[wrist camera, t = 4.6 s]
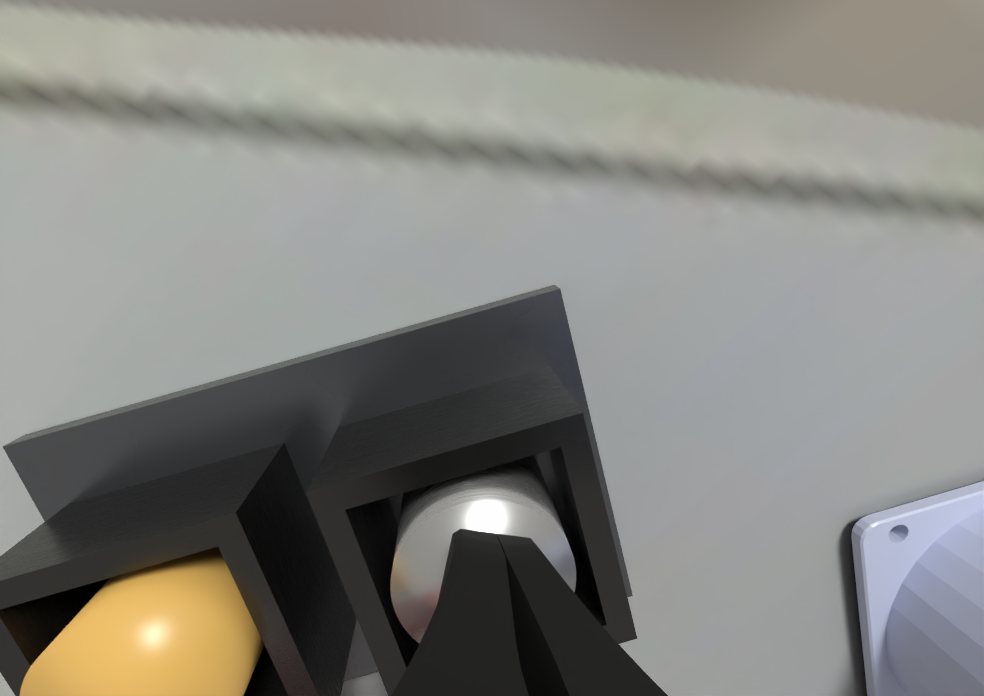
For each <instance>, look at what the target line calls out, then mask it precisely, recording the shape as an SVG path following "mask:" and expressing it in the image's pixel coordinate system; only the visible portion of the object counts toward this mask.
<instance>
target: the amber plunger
mask: <svg viewBox="0 0 984 696" xmlns="http://www.w3.org/2000/svg"><path fill="white" fill-rule="evenodd" d="M263 647H264V643H263V641H262V639H261V636H260V634H259V632H258V630H257V628H256V626H255V624H254V622H253V619H252V617H251V615H250V613H249V611H248V609H247V607H246V605H245V602H244V600H243V598H242V596H241V594H240V592H239V590H238V588H237V585H236V583H235V581H234V579H233V577H232V575H231V573H230V571H229V569H228V566H227V564H226V562H225V560H224V558H223V556H222V554H221V552H220V549H219V547H215V548H211V549H208V550H204V551H201V552H197V553H194V554H190V555H187V556H184V557H180V558H177V559H173V560H170V561H166V562H163V563H159V564H156V565H152V566H149V567H146V568H142V569H139V570H135V571H132V572H128V573H125V574H121V575H118V576H114V577H111V578H110V579H109V580H108V581H107V582H106V583H105V584H104V585H103V587H102V588H101V589H100V590H99V591H98V592H97V593H96V594H95V595H94V596H93V598H92V599H91V600H90V601H89V602H88V603H87V604H86V605H85V606H84V607H83V608H82V610H81V611H80V612H79V613H78V614H77V615H76V616H75V617H74V618H73V619H72V621H71V622H70V623H69V624H68V625H67V626H66V627H65V628H64V629H63V630H62V631H61V633H60V634H59V635H58V636H57V637H56V638H55V639H54V640H53V641H52V642H51V644H50V645H49V646H48V647H47V648H46V649H45V650H44V651H43V652H42V653H41V655H40V656H39V657H38V658H37V659H36V660H35V662H34V663H33V664H32V665H31V666H30V668H29V670H28V672H27V673H26V675H25V677H24V680H23V683H22V686H21V690H20V696H244V693H245V691H246V688H247V686H248V684H249V681H250V679H251V676H252V674H253V672H254V669H255V667H256V664H257V662H258V659H259V657H260V655H261V652H262V650H263Z"/></svg>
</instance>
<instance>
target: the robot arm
mask: <svg viewBox="0 0 984 696" xmlns="http://www.w3.org/2000/svg"><path fill="white" fill-rule="evenodd" d="M893 527H894V528H893ZM892 528H893V530H892ZM891 530H892V531H891ZM890 531H891V532H890ZM851 538H852V548H853V558H854V568H855V578H856V588H857V598H858V608H859V617H860V627H861V637H862V647H863V657H864V667H865V677H866V687H867V696H984V481H982V482H978V483H975V484H972V485H968V486H965V487H961V488H958V489H955V490H951V491H948V492H945V493H941V494H938V495H934V496H931V497H928V498H924V499H921V500H918V501H914V502H911V503H907V504H904V505H901V506H897V507H894V508H890V509H887V510H884V511H880V512H877V513H874V514H870V515H867V516H865V517H863V518H861V519H860V520H859V521H858V522H857V523H855V525H854V527H853V529H852V535H851ZM391 696H668V695H667V694H666V693H665V692H664V691H663V690H662V689H661V688H660V687H659V686H658V685H657V684H656V683H655V682H654V681H653V680H652V679H651V678H650V677H649V676H648V675H647V674H646V673H645V672H644V671H643V670H642V669H641V668H640V667H639V666H638V665H637V664H636V663H635V661H634V660H633V659H632V658H631V657H630V656H629V655H628V654H627V653H626V652H625V651H624V650H623V649H622V648H621V647H620V645H619V644H618V643H617V642H616V641H615V640H614V639H613V638H612V637H611V635H610V634H609V633H608V632H607V631H606V630H605V629H604V628H603V626H602V625H601V624H600V623H599V622H598V621H597V619H596V618H595V617H594V616H593V615H592V614H591V612H590V611H589V610H588V609H587V608H586V606H585V605H584V604H583V603H582V602H581V600H580V599H579V598H578V597H577V595H576V594H575V593H574V592H573V590H572V589H571V588H570V587H569V585H568V584H567V583H566V582H565V580H564V579H563V578H562V577H561V575H560V574H559V573H558V572H557V570H556V569H555V568H554V567H553V565H552V564H551V563H550V561H549V560H548V559H547V558H546V556H545V555H544V554H543V553H542V551H541V550H540V549H539V548H538V546H537V545H536V544H535V543H534V541H533V540H532V539H531V538H527V537H520V536H512V535H504V534H497V533H496V534H495V533H489V532H482V531H475V530H467V529H459V530H457V531H456V532H454V533H453V534H452V538H451V543H450V548H449V552H448V557H447V562H446V566H445V571H444V576H443V580H442V585H441V590H440V594H439V599H438V603H437V606H436V609H435V611H434V613H433V616H432V618H431V620H430V622H429V624H428V626H427V629H426V631H425V633H424V635H423V637H422V639H421V641H420V644H419V646H418V648H417V650H416V652H415V654H414V656H413V658H412V660H411V661H410V663H409V665H408V667H407V669H406V671H405V673H404V674H403V676H402V678H401V680H400V682H399V683H398V685H397V687H396V689H395V690H394V692H393V694H392V695H391Z"/></svg>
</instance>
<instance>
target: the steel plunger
mask: <svg viewBox="0 0 984 696" xmlns="http://www.w3.org/2000/svg"><path fill="white" fill-rule="evenodd" d="M459 529H467V530H475V531H482V532H489V533H495V534H496V533H497V534H504V535H512V536H520V537H527V538H531V539H532V540H533V541H534V543H535V544H536V545H537V546H538V548H539V549H540V550H541V551H542V553H543V554H544V555H545V556H546V558H547V559H548V560H549V561H550V563H551V564H552V565H553V567H554V568H555V569H556V570H557V572H558V573H559V574H560V575H561V577H562V578H563V579H564V580H565V582H566V583H567V584H568V585H569V587H570V588H571V589H572V590H573V592H575V587H576V566H575V561H574V557H573V554H572V551H571V548H570V546H569V543H568V540H567V538H566V535H565V533H564V530H563V527H562V525H561V522H560V520H559V517H558V514H557V512H556V509H555V506H554V504H553V501H552V499H551V496H550V493H549V491H548V488H547V486H546V483H545V480H544V478H543V475H542V472H541V470H540V467H539V466H538V464H537V462H536V460H535V459H534V457H533V456H529V457H525V458H522V459H518V460H515V461H512V462H508V463H505V464H501V465H498V466H494V467H491V468H487V469H484V470H480V471H477V472H474V473H470V474H467V475H463V476H460V477H456V478H453V479H449V480H446V481H443V482H439V483H436V484H432V485H429V486H425V487H422V488H418V489H415V490H411V491H408V492H405V493H403V496H402V503H401V510H400V518H399V525H398V532H397V539H396V546H395V553H394V560H393V567H392V574H391V586H390V592H391V599H392V604H393V607H394V610H395V613H396V615H397V617H398V619H399V621H400V623H401V624H402V626H403V627H404V629H405V630H406V631H407V632H408V633H409V634H410V636H411V637H412V638H413V639H415V640H416V641H417V642H418V643H419V644H420V641H421V639H422V637H423V635H424V633H425V631H426V629H427V626H428V624H429V622H430V620H431V618H432V616H433V613H434V611H435V609H436V606H437V603H438V599H439V594H440V590H441V585H442V580H443V576H444V571H445V566H446V562H447V557H448V552H449V548H450V543H451V538H452V534H453V533H454V532H456V531H457V530H459Z"/></svg>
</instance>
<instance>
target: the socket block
mask: <svg viewBox="0 0 984 696" xmlns="http://www.w3.org/2000/svg"><path fill="white" fill-rule="evenodd" d="M3 448H4V450H5V451H6V453H7V455H8V457H9V459H10V460H11V462H12V464H13V466H14V467H15V469H16V471H17V473H18V474H19V476H20V478H21V480H22V482H23V483H24V485H25V487H26V489H27V490H28V492H29V494H30V496H31V498H32V499H33V501H34V503H35V505H36V506H37V508H38V510H39V512H40V514H41V515H42V517H43V519H44V521H45V522H44V523H43V524H42V525H40V526H39V527H38V528H37V529H35V530H34V531H33V532H31V533H30V534H29V535H27V536H26V537H25V538H24V539H22V540H21V541H20V542H18V543H17V544H16V545H15V546H13V547H12V548H11V549H9V550H8V551H7V552H6V553H4V554H3V555H2V556H0V672H1V674H2V675H3V677H4V678H5V680H6V681H7V683H8V685H9V686H10V688H11V689H12V691H13V692H14V694H15V695H16V696H20V690H21V686H22V683H23V680H24V677H25V675H26V673H27V672H28V670H29V668H30V666H31V665H32V664H33V663H34V662H35V660H36V659H37V658H38V657H39V656H40V655H41V653H42V652H43V651H44V650H45V649H46V648H47V647H48V646H49V645H50V644H51V642H52V641H53V640H54V639H55V638H56V637H57V636H58V635H59V634H60V633H61V631H62V630H63V629H64V628H65V627H66V626H67V625H68V624H69V623H70V622H71V621H72V619H73V618H74V617H75V616H76V615H77V614H78V613H79V612H80V611H81V610H82V608H83V607H84V606H85V605H86V604H87V603H88V602H89V601H90V600H91V599H92V598H93V596H94V595H95V594H96V593H97V592H98V591H99V590H100V589H101V588H102V587H103V585H104V584H105V583H106V582H107V581H108V580H109V579H110V578H111V577H114V576H118V575H121V574H125V573H128V572H132V571H135V570H139V569H142V568H146V567H149V566H152V565H156V564H159V563H163V562H166V561H170V560H173V559H177V558H180V557H184V556H187V555H190V554H194V553H197V552H201V551H204V550H208V549H211V548H215V547H219V549H220V552H221V554H222V556H223V558H224V560H225V562H226V564H227V566H228V569H229V571H230V573H231V575H232V577H233V579H234V581H235V583H236V585H237V588H238V590H239V592H240V594H241V596H242V598H243V600H244V602H245V605H246V607H247V609H248V611H249V613H250V615H251V617H252V619H253V622H254V624H255V626H256V628H257V630H258V632H259V634H260V636H261V639H262V641H263V643H264V647H263V650H262V652H261V655H260V657H259V659H258V662H257V664H256V667H255V669H254V672H253V674H252V676H251V679H250V681H249V684H248V686H247V688H246V691H245V693H244V696H340V695H341V690H342V686H343V681H346V680H350V679H353V678H357V677H360V676H363V675H367V674H370V673H373V672H377V671H379V673H380V676H381V678H382V681H383V683H384V686H385V688H386V691H387V693H388V696H391V695H392V694H393V692H394V690H395V689H396V687H397V685H398V683H399V682H400V680H401V678H402V676H403V674H404V673H405V671H406V669H407V667H408V665H409V663H410V661H411V660H412V658H413V656H414V654H415V652H416V650H417V648H418V646H419V643H418V642H417V641H416V640H415V639H413V638H412V637H411V636H410V634H409V633H408V632H407V631H406V630H405V629H404V627H403V626H402V624H401V623H400V621H399V619H398V617H397V615H396V613H395V610H394V607H393V604H392V599H391V592H390V586H391V574H392V567H393V560H394V553H395V546H396V539H397V532H398V525H399V518H400V510H401V503H402V496H403V493H405V492H408V491H411V490H415V489H418V488H422V487H425V486H429V485H432V484H436V483H439V482H443V481H446V480H449V479H453V478H456V477H460V476H463V475H467V474H470V473H474V472H477V471H480V470H484V469H487V468H491V467H494V466H498V465H501V464H505V463H508V462H512V461H515V460H518V459H522V458H525V457H529V456H533V457H534V459H535V460H536V462H537V464H538V466H539V467H540V470H541V472H542V475H543V478H544V480H545V483H546V486H547V488H548V491H549V493H550V496H551V499H552V501H553V504H554V506H555V509H556V512H557V514H558V517H559V520H560V522H561V525H562V527H563V530H564V533H565V535H566V538H567V540H568V543H569V546H570V548H571V551H572V554H573V557H574V561H575V566H576V587H575V592H574V593H575V594H576V595H577V597H578V598H579V599H580V600H581V602H582V603H583V604H584V605H585V606H586V608H587V609H588V610H589V611H590V612H591V614H592V615H593V616H594V617H595V618H596V619H597V621H598V622H599V623H600V624H601V625H602V626H603V628H604V629H605V630H606V631H607V632H608V633H609V634H610V635H611V637H612V638H613V639H614V640H615V641H616V642H617V643H618V644H620V643H623V642H627V641H630V640H633V639H637V636H636V632H635V628H634V623H633V619H632V615H631V611H630V607H629V603H628V598H627V597H630V596H633V595H632V591H631V587H630V583H629V579H628V574H627V570H626V566H625V562H624V557H623V553H622V549H621V545H620V540H619V536H618V532H617V528H616V523H615V519H614V515H613V511H612V507H611V502H610V498H609V494H608V490H607V485H606V481H605V477H604V473H603V468H602V464H601V460H600V456H599V451H598V447H597V443H596V439H595V435H594V430H593V426H592V422H591V418H590V413H589V409H588V405H587V401H586V396H585V392H584V388H583V384H582V379H581V375H580V371H579V367H578V362H577V358H576V354H575V350H574V346H573V341H572V337H571V333H570V329H569V324H568V320H567V316H566V312H565V307H564V303H563V299H562V295H561V290H560V288H558V287H557V286H555V285H553V286H549V287H546V288H542V289H539V290H535V291H532V292H528V293H524V294H521V295H517V296H514V297H510V298H507V299H503V300H500V301H496V302H493V303H489V304H486V305H482V306H479V307H475V308H471V309H468V310H464V311H461V312H457V313H454V314H450V315H447V316H443V317H440V318H436V319H433V320H429V321H426V322H422V323H418V324H415V325H411V326H408V327H404V328H401V329H397V330H394V331H390V332H387V333H383V334H380V335H376V336H373V337H369V338H365V339H362V340H358V341H355V342H351V343H348V344H344V345H341V346H337V347H334V348H330V349H327V350H323V351H320V352H316V353H312V354H309V355H305V356H302V357H298V358H295V359H291V360H288V361H284V362H281V363H277V364H274V365H270V366H267V367H263V368H259V369H256V370H252V371H249V372H245V373H242V374H238V375H235V376H231V377H228V378H224V379H221V380H217V381H214V382H210V383H207V384H203V385H199V386H196V387H192V388H189V389H185V390H182V391H178V392H175V393H171V394H168V395H164V396H161V397H157V398H154V399H150V400H146V401H143V402H139V403H136V404H132V405H129V406H125V407H122V408H118V409H115V410H111V411H108V412H104V413H101V414H97V415H93V416H90V417H86V418H83V419H79V420H76V421H72V422H69V423H65V424H62V425H58V426H55V427H51V428H48V429H44V430H40V431H37V432H33V433H30V434H26V435H24V436H22V437H20V438H18V439H16V440H14V441H12V442H11V443H9V444H7V445H5V446H3Z"/></svg>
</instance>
